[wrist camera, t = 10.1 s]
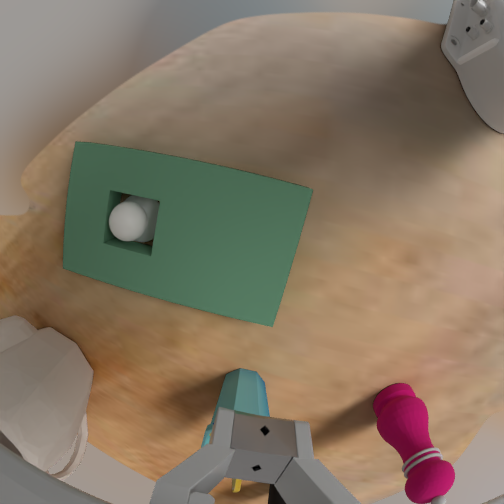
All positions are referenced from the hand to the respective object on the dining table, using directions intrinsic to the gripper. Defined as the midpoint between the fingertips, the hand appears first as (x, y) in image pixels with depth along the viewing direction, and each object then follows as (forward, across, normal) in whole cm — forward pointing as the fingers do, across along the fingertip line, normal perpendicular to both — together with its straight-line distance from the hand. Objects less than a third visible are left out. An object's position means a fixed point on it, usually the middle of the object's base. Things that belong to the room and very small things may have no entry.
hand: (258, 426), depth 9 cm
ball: (+21, +14, 0) cm, 25 cm away
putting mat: (+23, +9, 0) cm, 25 cm away
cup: (+23, -2, +18) cm, 29 cm away
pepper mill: (+23, -24, +18) cm, 38 cm away
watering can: (+23, +25, +24) cm, 41 cm away
